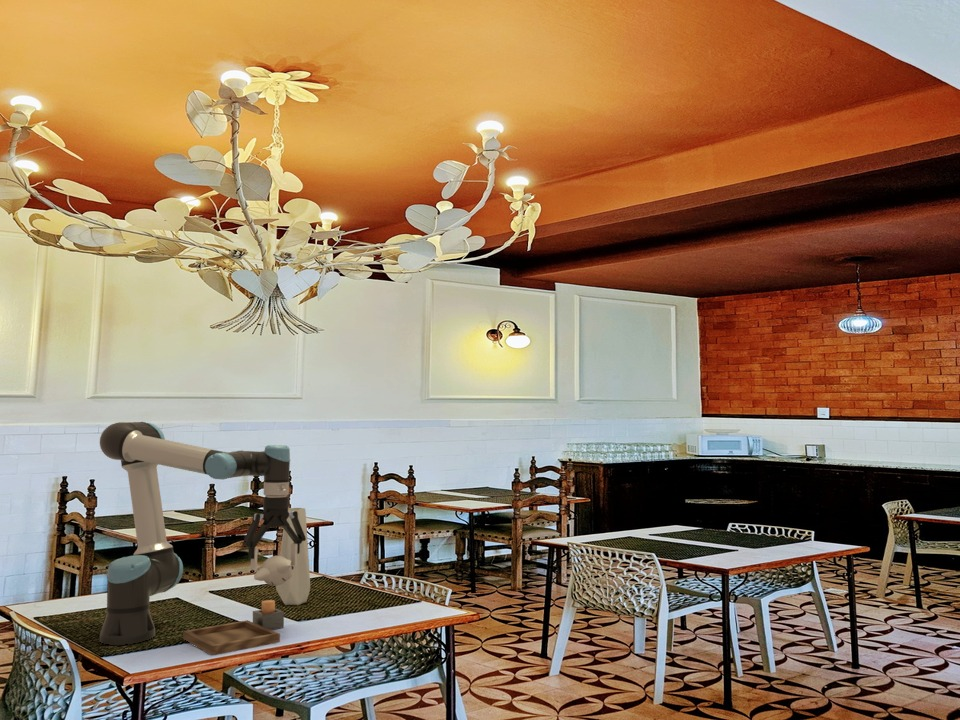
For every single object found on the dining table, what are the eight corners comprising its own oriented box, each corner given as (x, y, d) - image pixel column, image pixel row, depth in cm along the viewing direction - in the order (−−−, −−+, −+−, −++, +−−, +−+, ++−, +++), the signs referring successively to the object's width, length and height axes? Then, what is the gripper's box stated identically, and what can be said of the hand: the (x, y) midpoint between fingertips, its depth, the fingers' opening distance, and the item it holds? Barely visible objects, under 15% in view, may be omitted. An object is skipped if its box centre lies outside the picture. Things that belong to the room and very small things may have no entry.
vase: (300, 608, 282) (301, 510, 284) (271, 605, 286) (272, 510, 288) (319, 600, 293) (319, 507, 296) (291, 598, 297) (291, 506, 300)
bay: (212, 655, 225) (212, 646, 225) (183, 639, 242) (183, 631, 242) (279, 642, 238) (279, 633, 238) (247, 628, 255) (247, 620, 255)
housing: (262, 631, 250) (262, 615, 250) (252, 627, 255) (252, 611, 256) (283, 627, 255) (283, 611, 255) (273, 623, 260) (273, 607, 260)
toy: (264, 594, 254) (250, 593, 240) (256, 567, 257) (242, 564, 243) (304, 579, 256) (293, 576, 241) (296, 551, 258) (285, 547, 244)
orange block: (265, 620, 252) (265, 603, 253) (259, 617, 255) (259, 601, 256) (277, 617, 255) (277, 601, 255) (271, 615, 258) (271, 599, 258)
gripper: (243, 499, 240) (241, 573, 238) (318, 494, 256) (316, 564, 254) (232, 497, 245) (230, 570, 244) (305, 493, 261) (304, 561, 260)
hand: (274, 567), depth 249 cm, fingers closed on toy, 12 cm apart
